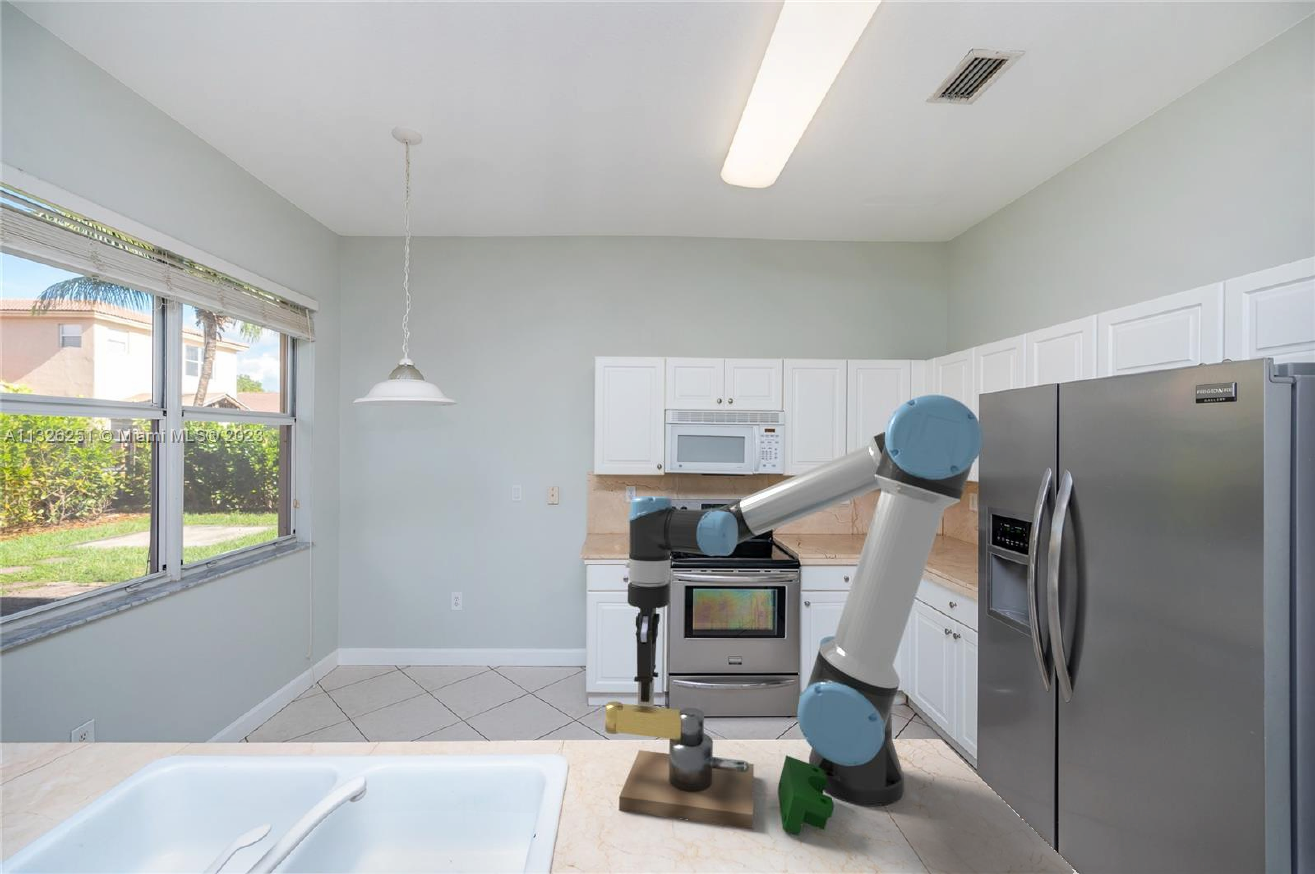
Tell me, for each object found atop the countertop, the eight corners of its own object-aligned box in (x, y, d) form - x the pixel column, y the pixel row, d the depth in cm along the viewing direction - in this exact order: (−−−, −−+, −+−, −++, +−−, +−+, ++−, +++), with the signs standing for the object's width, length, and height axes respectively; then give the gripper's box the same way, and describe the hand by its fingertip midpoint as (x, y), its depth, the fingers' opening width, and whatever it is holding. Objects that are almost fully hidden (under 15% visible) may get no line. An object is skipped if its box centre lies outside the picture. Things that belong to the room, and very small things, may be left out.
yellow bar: (704, 734, 88) (705, 709, 88) (702, 746, 84) (702, 720, 85) (608, 723, 91) (609, 699, 91) (602, 734, 87) (602, 709, 88)
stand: (753, 776, 91) (753, 764, 91) (752, 829, 77) (753, 814, 77) (638, 761, 95) (639, 750, 95) (618, 810, 81) (619, 796, 81)
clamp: (817, 864, 77) (836, 823, 73) (776, 848, 78) (793, 807, 74) (814, 788, 88) (831, 749, 84) (778, 775, 89) (793, 736, 85)
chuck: (749, 774, 88) (749, 737, 88) (748, 800, 81) (749, 758, 81) (672, 765, 90) (673, 728, 91) (665, 788, 83) (666, 748, 84)
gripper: (633, 574, 103) (629, 700, 102) (622, 588, 90) (618, 733, 89) (672, 576, 102) (669, 703, 101) (666, 590, 90) (663, 736, 88)
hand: (645, 717), depth 95 cm, fingers closed
